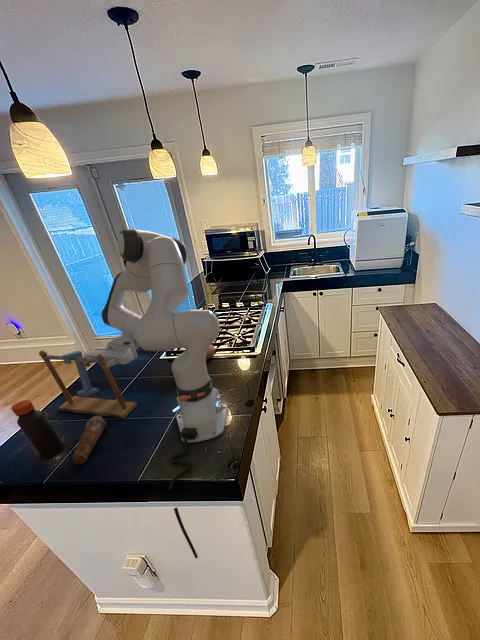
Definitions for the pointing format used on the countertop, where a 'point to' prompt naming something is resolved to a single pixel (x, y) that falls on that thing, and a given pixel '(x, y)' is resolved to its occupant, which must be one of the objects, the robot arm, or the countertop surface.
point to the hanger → (81, 373)
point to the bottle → (37, 429)
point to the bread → (88, 439)
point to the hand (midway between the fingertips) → (94, 365)
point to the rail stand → (85, 403)
